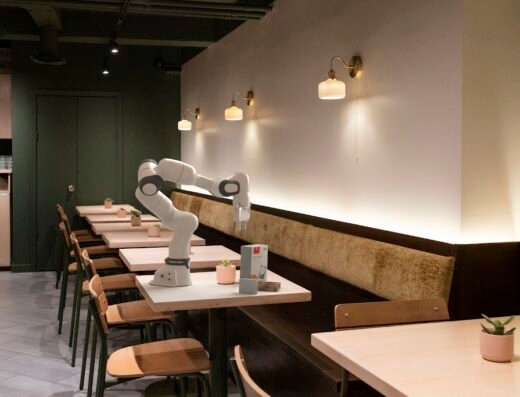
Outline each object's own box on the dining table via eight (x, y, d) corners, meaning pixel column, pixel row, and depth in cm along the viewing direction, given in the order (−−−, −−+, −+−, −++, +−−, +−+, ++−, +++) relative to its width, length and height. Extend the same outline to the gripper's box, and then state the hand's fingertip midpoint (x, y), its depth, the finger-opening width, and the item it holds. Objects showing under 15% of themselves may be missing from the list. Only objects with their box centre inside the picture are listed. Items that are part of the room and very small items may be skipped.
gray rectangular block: (258, 279, 323) (240, 278, 325) (256, 280, 320) (239, 279, 322) (257, 293, 323) (240, 291, 325) (256, 294, 320) (238, 292, 322)
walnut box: (254, 289, 330) (254, 284, 330) (258, 286, 340) (258, 280, 340) (277, 291, 328) (277, 285, 327) (280, 287, 337) (280, 282, 337)
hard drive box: (250, 283, 347) (251, 247, 346) (239, 282, 352) (240, 245, 351) (267, 280, 360) (268, 244, 359) (256, 278, 364) (257, 243, 363)
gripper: (241, 203, 324) (242, 231, 325) (252, 202, 344) (252, 228, 344) (229, 203, 326) (230, 231, 326) (240, 202, 346) (241, 228, 346)
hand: (241, 229), depth 335 cm, fingers open, 8 cm apart
